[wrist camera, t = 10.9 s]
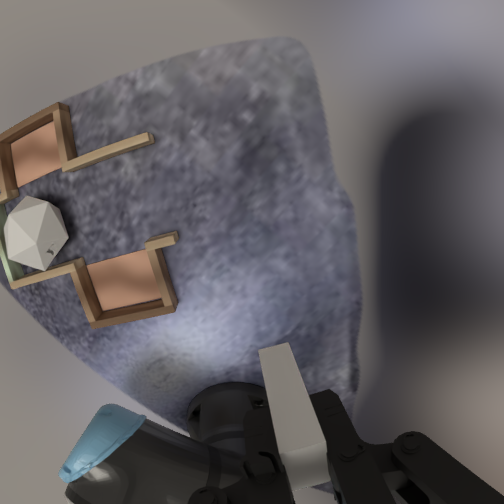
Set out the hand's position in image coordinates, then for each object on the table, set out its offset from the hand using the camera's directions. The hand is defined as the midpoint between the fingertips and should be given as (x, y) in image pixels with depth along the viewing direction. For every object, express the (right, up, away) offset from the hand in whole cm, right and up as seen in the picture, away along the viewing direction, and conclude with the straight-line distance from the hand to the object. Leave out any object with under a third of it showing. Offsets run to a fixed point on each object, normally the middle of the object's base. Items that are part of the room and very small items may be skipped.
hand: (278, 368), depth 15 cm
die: (-29, +9, +21) cm, 36 cm away
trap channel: (-24, +10, +20) cm, 33 cm away
